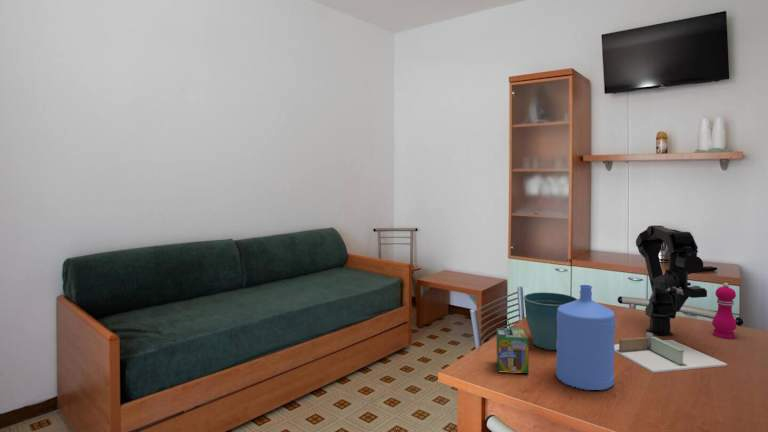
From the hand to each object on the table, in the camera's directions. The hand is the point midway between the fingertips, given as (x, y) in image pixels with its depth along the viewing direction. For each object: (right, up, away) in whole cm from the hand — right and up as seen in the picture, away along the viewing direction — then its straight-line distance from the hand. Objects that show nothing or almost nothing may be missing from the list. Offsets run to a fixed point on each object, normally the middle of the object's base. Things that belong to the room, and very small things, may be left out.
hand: (676, 311), depth 159 cm
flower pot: (-44, -13, +3) cm, 46 cm away
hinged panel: (-11, -12, -12) cm, 20 cm away
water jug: (-44, -15, -26) cm, 53 cm away
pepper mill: (+23, -11, +9) cm, 27 cm away
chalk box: (-63, -15, -17) cm, 67 cm away
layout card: (-10, -13, -9) cm, 19 cm away
